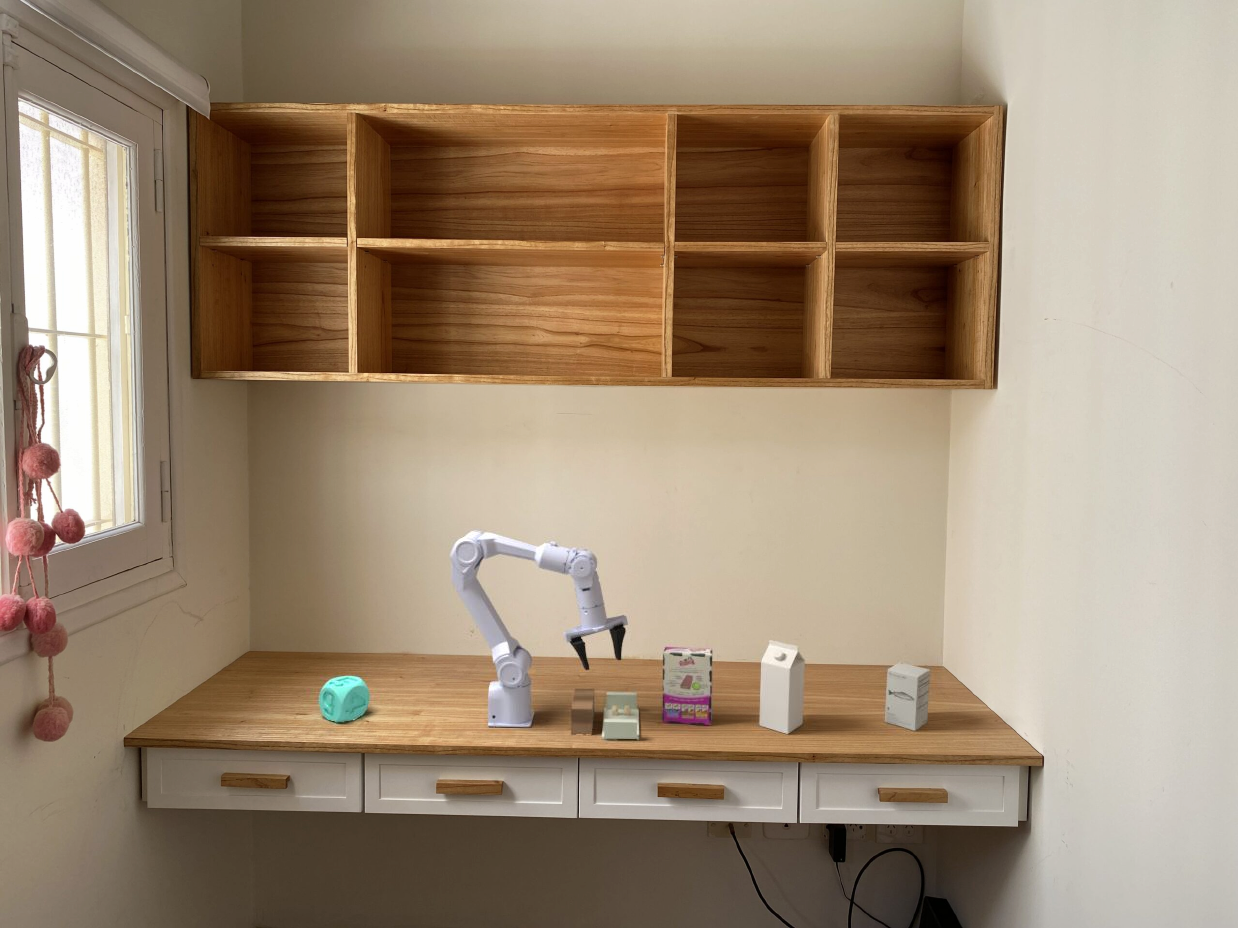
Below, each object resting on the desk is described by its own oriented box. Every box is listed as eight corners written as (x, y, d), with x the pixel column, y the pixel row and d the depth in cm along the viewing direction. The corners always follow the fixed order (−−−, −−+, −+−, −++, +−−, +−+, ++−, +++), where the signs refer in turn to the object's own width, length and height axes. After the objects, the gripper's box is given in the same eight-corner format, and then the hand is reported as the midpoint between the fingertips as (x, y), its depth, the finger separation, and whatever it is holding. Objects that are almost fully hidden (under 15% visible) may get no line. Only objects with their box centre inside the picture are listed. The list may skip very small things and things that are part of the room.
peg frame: (639, 740, 175) (639, 722, 175) (601, 740, 175) (601, 721, 175) (638, 709, 192) (638, 692, 192) (604, 708, 192) (604, 691, 192)
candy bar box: (711, 717, 188) (713, 647, 187) (711, 726, 183) (713, 654, 182) (663, 714, 190) (664, 645, 188) (661, 722, 185) (662, 652, 183)
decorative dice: (370, 713, 188) (370, 680, 187) (341, 725, 181) (341, 690, 180) (347, 706, 192) (346, 673, 191) (318, 717, 185) (317, 683, 185)
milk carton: (774, 716, 189) (777, 636, 187) (802, 724, 185) (805, 642, 183) (759, 726, 184) (761, 643, 182) (787, 734, 179) (790, 650, 177)
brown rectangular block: (591, 735, 178) (592, 709, 177) (571, 735, 178) (571, 708, 177) (594, 713, 190) (594, 688, 189) (574, 713, 190) (575, 688, 189)
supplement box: (883, 722, 186) (885, 668, 185) (897, 713, 192) (899, 660, 191) (915, 732, 181) (917, 676, 180) (928, 722, 187) (931, 668, 186)
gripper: (565, 617, 175) (577, 677, 176) (627, 599, 180) (638, 659, 181) (556, 611, 182) (568, 669, 183) (616, 594, 187) (628, 651, 188)
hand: (602, 663), depth 182 cm, fingers open, 7 cm apart
